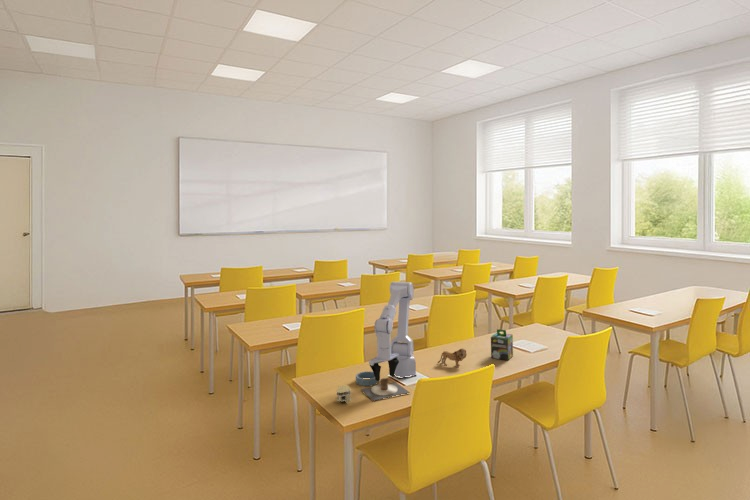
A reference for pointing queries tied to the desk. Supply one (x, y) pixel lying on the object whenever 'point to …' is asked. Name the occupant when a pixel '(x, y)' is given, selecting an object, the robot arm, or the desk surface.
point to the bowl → (366, 381)
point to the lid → (384, 388)
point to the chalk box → (502, 345)
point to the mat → (377, 397)
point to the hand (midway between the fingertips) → (384, 378)
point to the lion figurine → (454, 356)
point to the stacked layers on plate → (343, 393)
